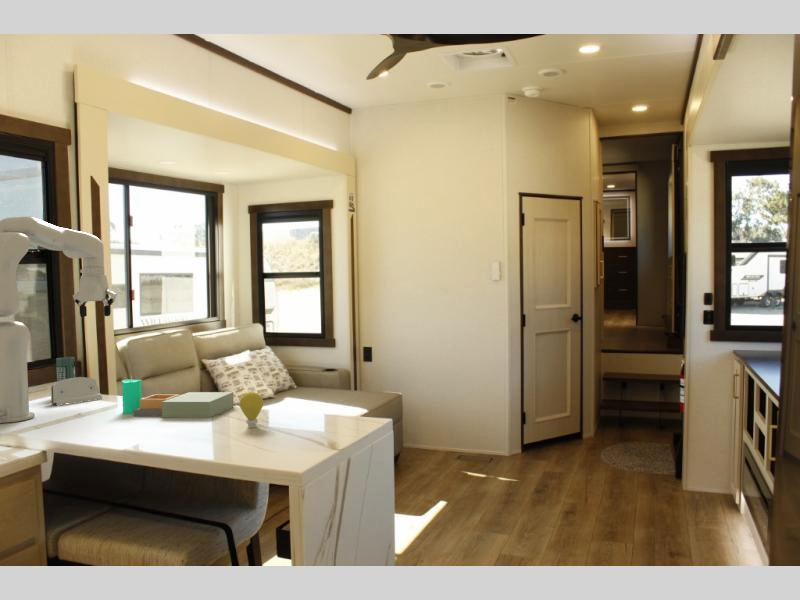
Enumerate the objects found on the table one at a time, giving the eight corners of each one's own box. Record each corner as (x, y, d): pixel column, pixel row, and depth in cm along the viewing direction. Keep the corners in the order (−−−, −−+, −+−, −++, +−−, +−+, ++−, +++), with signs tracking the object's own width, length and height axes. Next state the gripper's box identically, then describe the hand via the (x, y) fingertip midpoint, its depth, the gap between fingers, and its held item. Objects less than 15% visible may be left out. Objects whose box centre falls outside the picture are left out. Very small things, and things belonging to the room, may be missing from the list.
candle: (120, 412, 218) (118, 376, 218) (138, 409, 223) (136, 374, 222) (127, 414, 214) (125, 377, 214) (145, 411, 218) (144, 375, 218)
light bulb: (267, 427, 189) (265, 392, 188) (244, 430, 185) (242, 395, 185) (259, 423, 194) (258, 389, 194) (237, 426, 191) (236, 392, 191)
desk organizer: (210, 417, 205) (209, 401, 204) (130, 417, 209) (129, 401, 209) (233, 406, 222) (233, 392, 222) (159, 406, 227) (158, 392, 226)
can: (79, 395, 256) (77, 357, 256) (67, 398, 250) (65, 359, 250) (66, 395, 258) (64, 357, 257) (54, 397, 252) (52, 358, 252)
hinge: (56, 406, 233) (51, 379, 235) (51, 409, 236) (46, 382, 238) (103, 399, 246) (98, 373, 248) (98, 402, 249) (93, 376, 251)
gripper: (66, 272, 250) (68, 317, 251) (109, 271, 248) (111, 316, 249) (78, 272, 258) (80, 316, 258) (120, 271, 256) (121, 315, 256)
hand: (95, 316), depth 254 cm, fingers open, 9 cm apart
